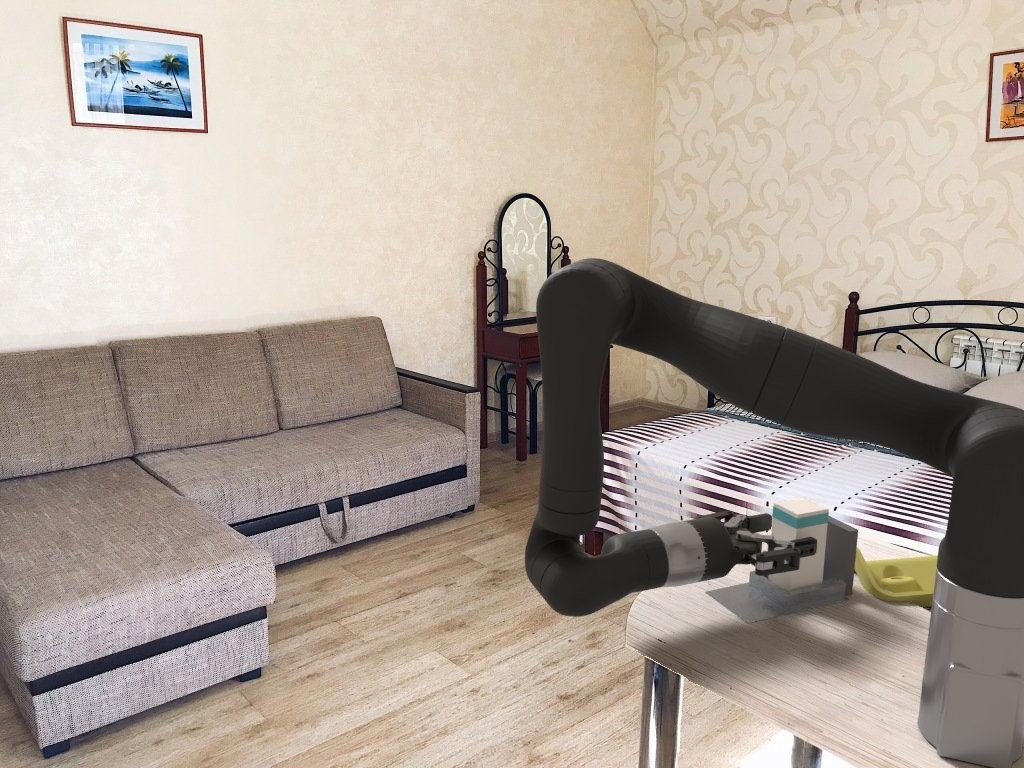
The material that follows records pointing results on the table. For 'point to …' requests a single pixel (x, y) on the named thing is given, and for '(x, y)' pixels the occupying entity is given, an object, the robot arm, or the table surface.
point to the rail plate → (775, 598)
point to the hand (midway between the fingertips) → (791, 532)
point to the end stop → (840, 553)
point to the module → (800, 523)
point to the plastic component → (899, 578)
